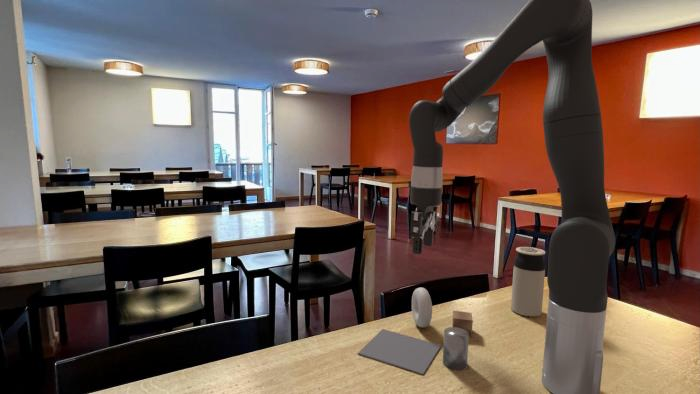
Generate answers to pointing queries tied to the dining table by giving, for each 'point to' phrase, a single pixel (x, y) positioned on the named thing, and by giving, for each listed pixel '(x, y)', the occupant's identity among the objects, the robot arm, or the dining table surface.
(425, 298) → the donut
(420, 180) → the robot arm
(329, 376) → the dining table surface
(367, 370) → the dining table surface
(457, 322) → the walnut block
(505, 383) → the dining table surface
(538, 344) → the dining table surface
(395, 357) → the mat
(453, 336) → the grey cylinder
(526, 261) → the travel mug
